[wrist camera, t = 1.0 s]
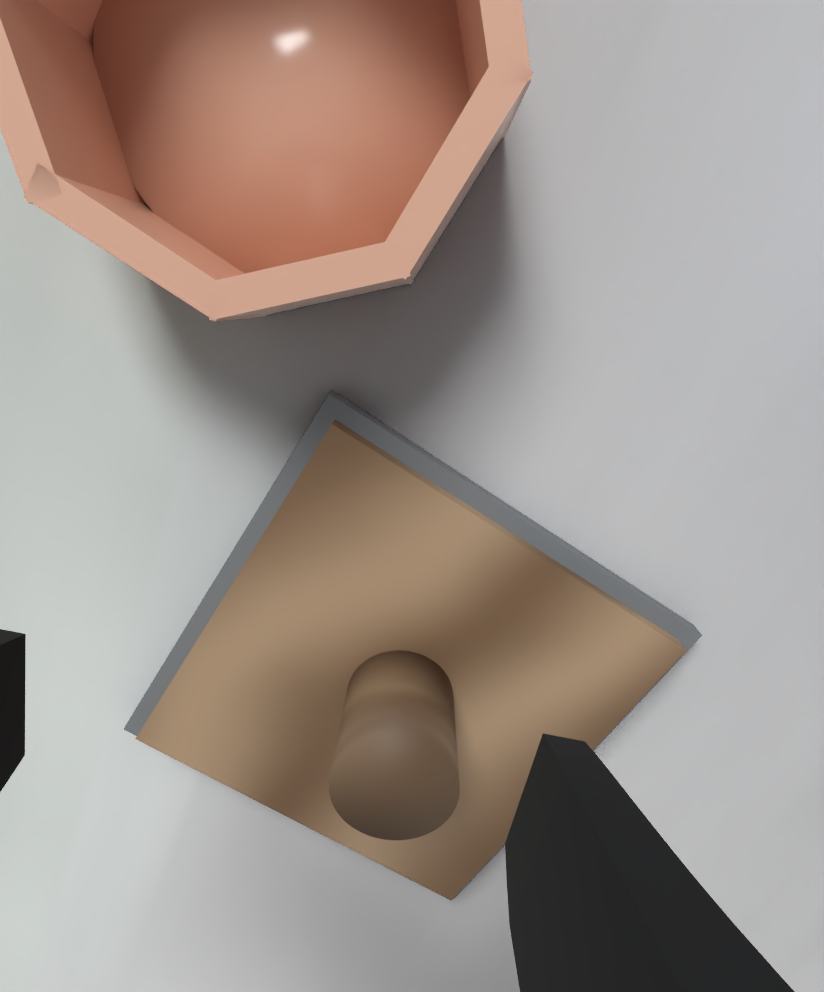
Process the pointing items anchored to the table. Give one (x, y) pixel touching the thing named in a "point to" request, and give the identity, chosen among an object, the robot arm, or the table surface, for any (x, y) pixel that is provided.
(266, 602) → the lid
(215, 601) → the mat
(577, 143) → the table surface
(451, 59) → the bowl
